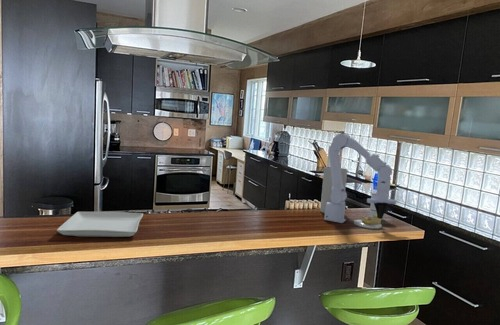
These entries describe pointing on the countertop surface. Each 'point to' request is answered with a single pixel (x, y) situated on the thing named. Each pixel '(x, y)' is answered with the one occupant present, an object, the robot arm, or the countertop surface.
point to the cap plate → (367, 225)
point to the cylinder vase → (329, 186)
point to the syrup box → (373, 206)
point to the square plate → (101, 224)
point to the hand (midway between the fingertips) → (379, 218)
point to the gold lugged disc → (371, 220)
